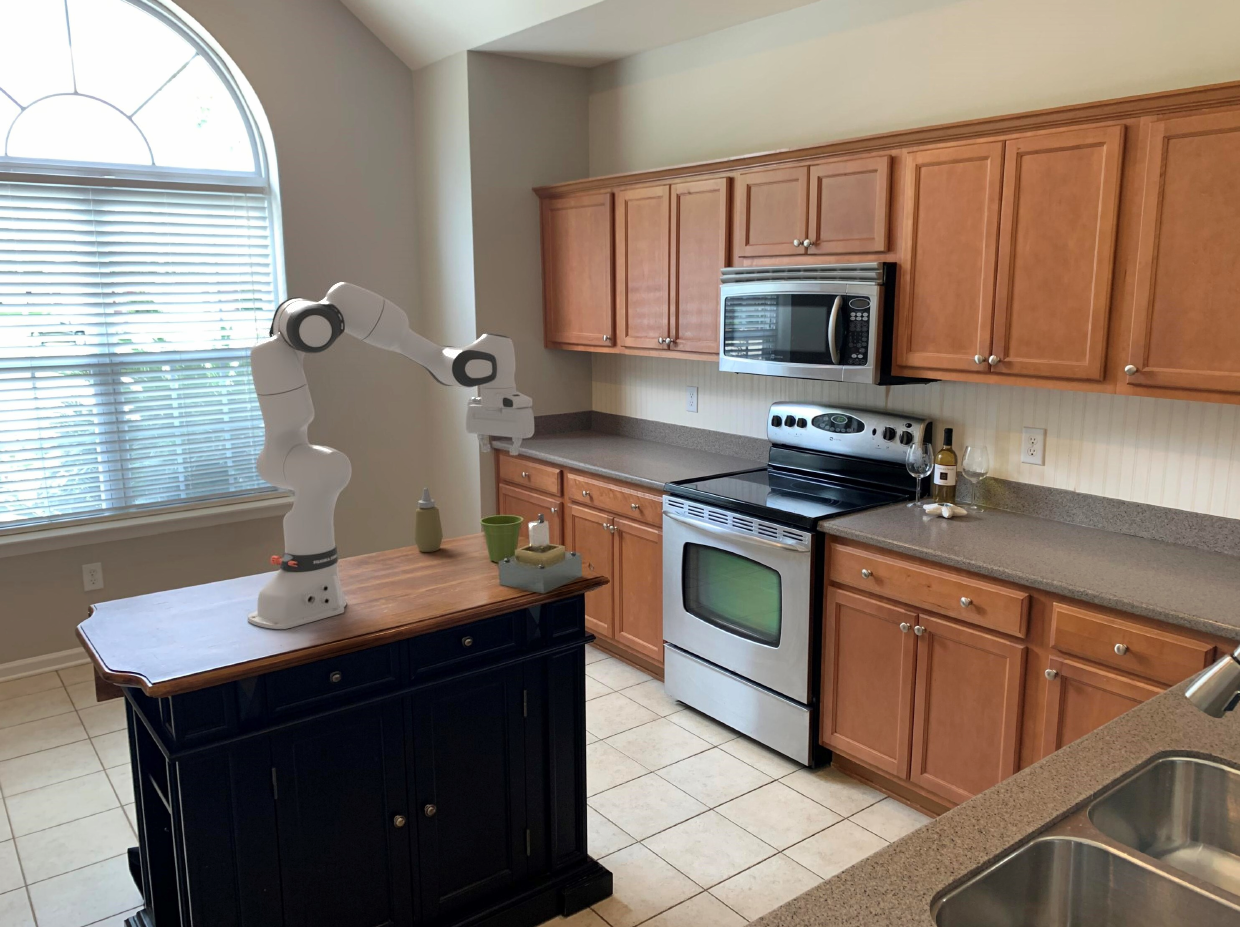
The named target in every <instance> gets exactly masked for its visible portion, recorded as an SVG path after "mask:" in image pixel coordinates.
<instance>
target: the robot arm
mask: <svg viewBox="0 0 1240 927" xmlns="http://www.w3.org/2000/svg"><path fill="white" fill-rule="evenodd" d="M343 333H346V334H349V335H351V336H352V337H355V338H356V339H357V340H358V339H359V340H360V341H362V342H365V343H367V344H368V345H371V346H373V347H376V348H379V349H383V350H386V351H392V352H396V353H398V354H400V355H402V356H403V357H406V358H408V359H410V360H411V361H413V362H415V363H416V364H418V365H420V366H421V367H423V368H424V369H425V370H426V371H427V372H428V374H430V376H431V377H432V379H434V380H435V381H436V382H437V383H439V384H440V385H442V386H446V387H459V388H468V389H469V388H470V389H471V388H474V387H477V386H479V387H480V397H477V396H476V397H475V396H474V397H471V398H469V400H468V401H467V406H466V407H467V409H466V415H465V416H466V417H465V430H466V431H467V433H468V434H475V435H476V434H477V440H478V442H479V444H480V446H481V449H480V450H481V452H482V453H483V452H484V453H490V452H491V444H488V441H487V439H486V438H487V437H488V436H495V437H507V438H511V439H512V442H513V445H512V447H509V455H510V456H518V455H519V448H520V446H521V444H522V442H523V439H529V438H532V437H533V435H534V434H535V417H534V412H533V409H532V408H531V407H532V406H533V399H532V398H531V397H529V396H527V395H525V394H523V393H521V392H519V390H517V386H516V382H515V373H516V355H515V347H514V343H513V340H512V339H511V338H510V337H509V336H507V335H502V334H498V333H491V332H490V333H489V332H488V333H486V332H485V333H483V334H482V335H481V336H480V337H479V338H477V339H476V340H474V342H472V343H470V344H468V345H466V346H465V345H464V346H463V347H458V346H457V347H456V346H451V345H440V344H436V343H434V342H432V341H430V339H429V340H428V339H427V338H425V337H423V336H422V335H420V334H418V333H416V332H415V331H414V330H412V329H411V328H410V321H409V319H408V315H407V314H406V312H405V311H404V310H403V309H401V308H400V307H399V306H398V305H397V304H395V303H393V302H392V301H391V300H388V299H387V298H385V297H384V296H381V295H380V294H378V293H375V292H373V291H372V290H369V289H367V288H364V287H361V286H360V285H355V284H353V283H350V282H345V281H344V282H338V283H336V284H334V285H333V286H332V287H330V289H329V290H328V291H327V293H326V294H325V297H324V298H322V300H320V301H315V300H311V299H307V298H304V297H300V296H299V297H291V298H287V299H286V300H283V301H282V302H281V303H280V304H279V305H278V306H277V307H276V309H275V311H274V315H273V318H272V322H271V325H270V329H269V332H268V335H269V337H268V338H265V339H262V340H260V341H258V342H257V343H255V345H254V346H253V347H252V348H251V350H250V354H249V356H250V358H249V359H250V368H251V369H250V370H251V378H252V381H253V386H254V390H255V394H256V397H257V401H258V404H259V409H260V413H261V417H262V420H263V425H264V446H263V448H262V449H261V451H260V452H259V454H258V456H257V458H256V470H257V473H258V475H259V477H260V478H261V479H262V480H263V481H264V482H266V483H268V484H269V485H272V486H274V487H276V488H279V489H283V490H290V491H291V490H292V491H293V492H294V500H293V505H292V508H291V510H290V511H288V512H287V513H286V514H285V515H284V517H283V521H282V524H283V525H282V526H283V538H284V549H285V550H284V552H283V554H282V556H278V555H272V556H271V558H269V559H270V564H272V565H276V566H279V568H280V569H279V570H278V571H277V572H276V574H275V575H274V576H273V577H272V578H271V579H270V580H269V581H268V582H267V584H265V586H264V587H263V588H261V590H260V591H259V593H258V596H257V604H256V605H257V608H256V609H257V610H255V611H253V612H250V613H248V615H247V621H248V623H250V624H251V625H254V626H258V627H261V628H266V629H274V630H286V629H290V628H295V627H298V626H300V625H301V626H302V625H306V624H308V623H312V622H315V621H319V620H322V619H326V618H329V617H334V616H337V615H340V614H344V612H345V607H346V605H347V599H346V598H345V594H344V592H343V589H342V585H341V581H340V577H339V576H340V575H339V569H338V562H339V554H338V546H337V545H336V544H335V543H336V542H335V526H334V525H335V524H334V522H335V521H334V515H335V514H334V512H335V508H336V503H337V501H338V500H337V499H338V497H339V495H340V493H341V492H342V491H343V490H344V489H345V488H346V487H347V486H348V484H349V483H350V480H351V478H352V471H353V470H352V464H351V461H350V459H349V457H348V456H347V455H346V454H345V453H344V452H342V451H339V450H338V449H335V448H333V447H330V446H327V445H317V444H310V441H309V439H308V438H309V437H308V427H309V425H310V424H311V423H312V422H313V420H314V419H315V414H316V412H315V408H314V404H313V400H312V396H311V392H310V389H309V384H308V382H307V381H308V380H307V378H306V374H305V371H304V358H305V354H319V353H322V352H325V351H326V350H328V349H329V348H330V347H332V345H333V344H334V343H335V342H336V340H338V338H340V337H341V335H343Z"/></svg>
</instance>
